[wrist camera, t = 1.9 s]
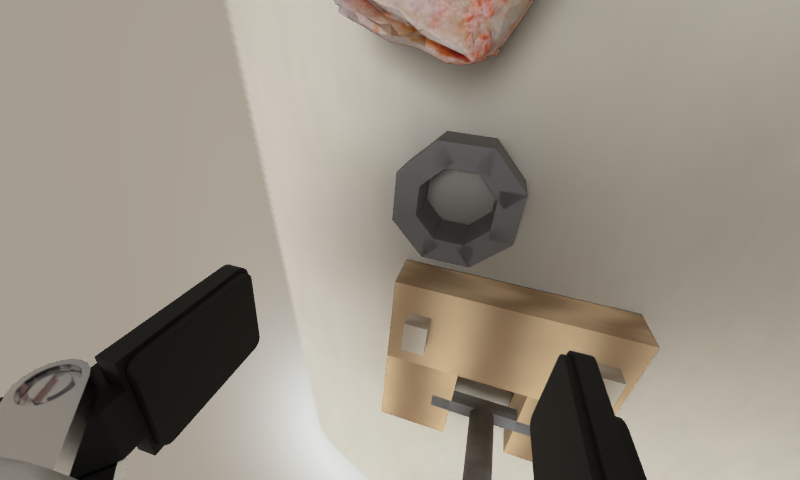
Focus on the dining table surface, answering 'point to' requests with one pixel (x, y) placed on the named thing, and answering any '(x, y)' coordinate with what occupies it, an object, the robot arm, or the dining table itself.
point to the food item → (441, 24)
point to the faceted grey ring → (451, 237)
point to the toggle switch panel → (497, 353)
